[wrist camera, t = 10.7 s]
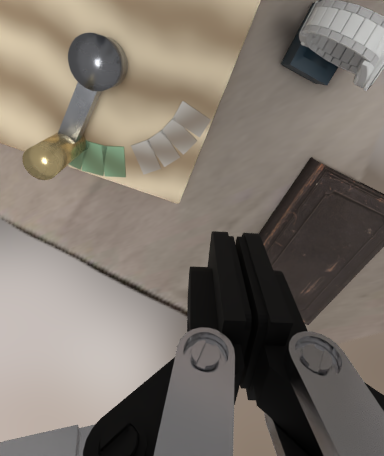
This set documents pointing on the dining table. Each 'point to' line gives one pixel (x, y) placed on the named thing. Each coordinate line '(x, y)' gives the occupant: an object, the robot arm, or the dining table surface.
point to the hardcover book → (323, 235)
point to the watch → (338, 43)
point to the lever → (79, 102)
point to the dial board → (130, 87)
